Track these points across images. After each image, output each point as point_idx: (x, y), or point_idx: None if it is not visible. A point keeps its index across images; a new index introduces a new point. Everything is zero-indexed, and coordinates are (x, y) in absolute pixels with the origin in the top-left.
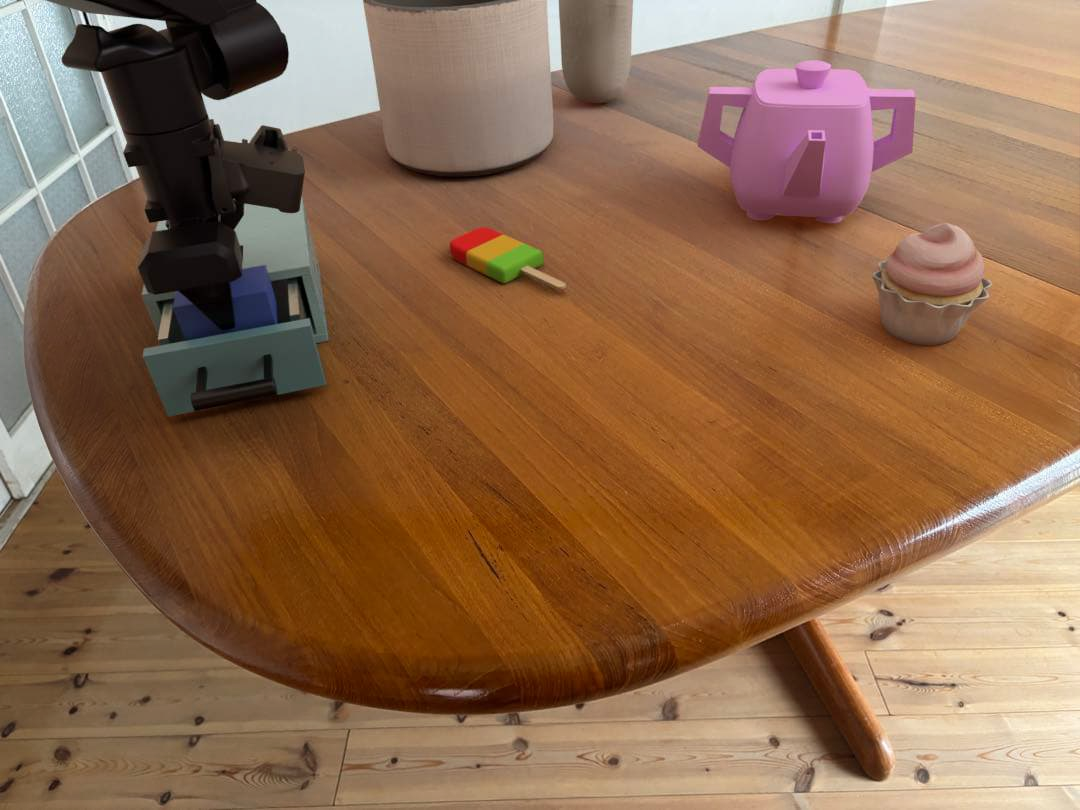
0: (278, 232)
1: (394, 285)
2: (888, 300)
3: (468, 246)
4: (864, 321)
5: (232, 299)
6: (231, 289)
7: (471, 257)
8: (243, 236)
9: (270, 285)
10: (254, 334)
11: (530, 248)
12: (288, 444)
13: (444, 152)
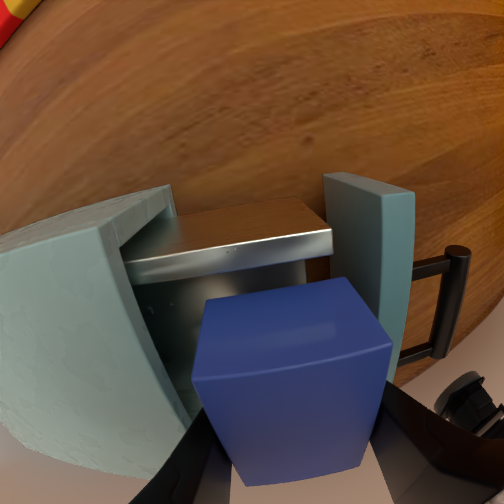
0: None
1: (30, 107)
2: None
3: (1, 17)
4: None
5: (389, 404)
6: (401, 422)
7: (22, 5)
8: (14, 380)
9: (232, 334)
10: (402, 318)
11: None
12: (424, 222)
13: None
